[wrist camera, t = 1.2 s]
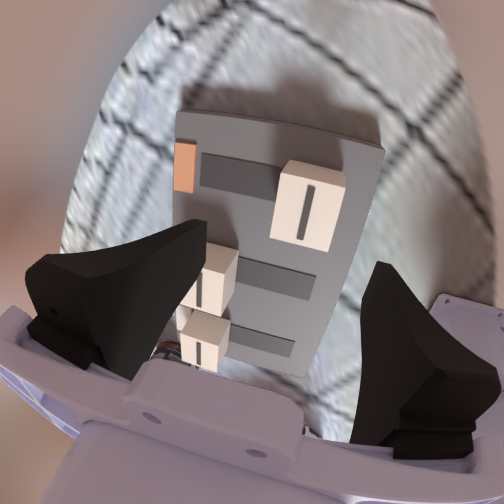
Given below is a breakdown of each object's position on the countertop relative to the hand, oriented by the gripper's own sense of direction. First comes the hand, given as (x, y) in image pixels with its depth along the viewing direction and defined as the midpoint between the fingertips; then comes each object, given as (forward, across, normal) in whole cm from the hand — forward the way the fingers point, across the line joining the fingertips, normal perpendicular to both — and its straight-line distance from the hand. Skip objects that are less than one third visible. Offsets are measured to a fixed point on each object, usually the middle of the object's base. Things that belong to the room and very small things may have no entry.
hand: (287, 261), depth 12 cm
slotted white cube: (+8, 0, 0) cm, 8 cm away
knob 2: (+8, +6, +15) cm, 18 cm away
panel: (+10, +3, +8) cm, 13 cm away
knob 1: (+8, +6, +7) cm, 12 cm away
